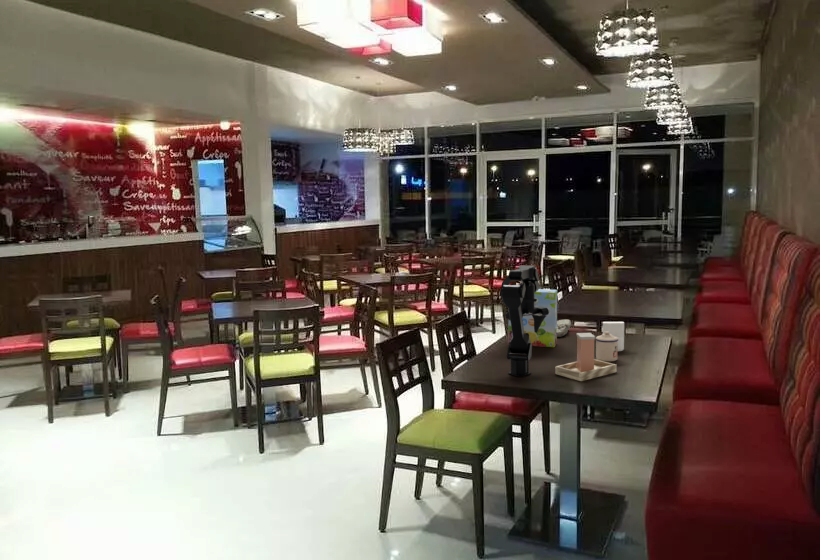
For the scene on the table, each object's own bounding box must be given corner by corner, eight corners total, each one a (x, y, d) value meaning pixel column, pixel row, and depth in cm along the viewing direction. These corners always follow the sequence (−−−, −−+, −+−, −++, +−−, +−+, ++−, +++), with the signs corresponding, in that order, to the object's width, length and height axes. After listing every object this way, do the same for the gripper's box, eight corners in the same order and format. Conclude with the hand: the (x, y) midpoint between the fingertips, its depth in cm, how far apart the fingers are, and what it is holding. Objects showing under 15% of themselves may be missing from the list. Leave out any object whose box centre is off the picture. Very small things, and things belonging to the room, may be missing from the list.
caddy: (580, 372, 257) (580, 337, 255) (576, 367, 264) (576, 333, 262) (594, 372, 257) (595, 336, 255) (590, 367, 264) (590, 332, 262)
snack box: (507, 345, 310) (507, 290, 306) (510, 341, 318) (510, 287, 314) (555, 347, 303) (555, 291, 299) (557, 343, 311) (557, 288, 308)
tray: (581, 381, 250) (581, 373, 250) (555, 373, 261) (555, 366, 260) (616, 372, 261) (616, 364, 261) (590, 365, 272) (590, 358, 271)
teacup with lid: (617, 362, 275) (618, 334, 274) (594, 361, 278) (595, 333, 276) (618, 355, 287) (618, 328, 285) (596, 354, 289) (596, 327, 288)
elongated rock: (574, 327, 353) (555, 327, 357) (574, 317, 353) (555, 317, 356) (566, 337, 320) (545, 337, 324) (566, 326, 320) (545, 327, 323)
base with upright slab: (621, 346, 302) (621, 320, 300) (625, 351, 293) (626, 324, 291) (601, 346, 303) (601, 320, 301) (604, 351, 294) (605, 324, 292)
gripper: (530, 291, 283) (530, 327, 285) (496, 296, 273) (497, 334, 275) (549, 294, 274) (549, 332, 276) (515, 299, 264) (515, 338, 266)
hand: (527, 333), depth 273 cm, fingers open, 9 cm apart
